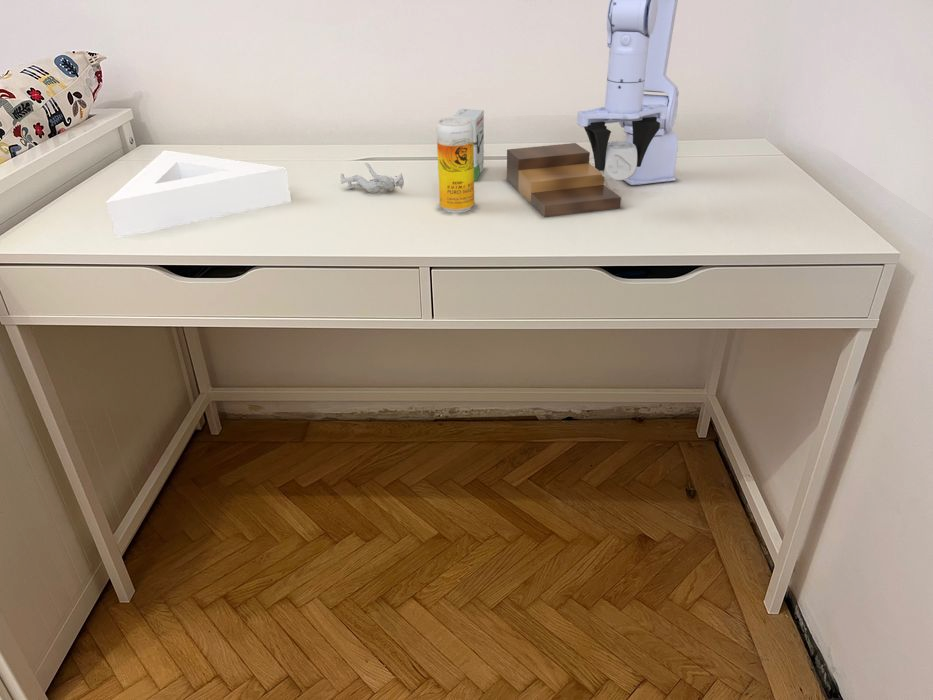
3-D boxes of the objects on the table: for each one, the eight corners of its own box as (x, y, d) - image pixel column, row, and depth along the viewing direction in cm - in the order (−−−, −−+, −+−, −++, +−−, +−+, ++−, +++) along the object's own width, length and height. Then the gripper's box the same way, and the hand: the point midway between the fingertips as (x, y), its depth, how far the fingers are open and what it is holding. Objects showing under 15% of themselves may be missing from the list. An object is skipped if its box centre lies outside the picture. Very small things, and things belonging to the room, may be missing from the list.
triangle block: (116, 239, 113) (105, 202, 110) (91, 196, 132) (80, 163, 129) (291, 202, 127) (285, 167, 124) (245, 168, 146) (240, 137, 142)
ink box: (476, 181, 135) (476, 118, 128) (452, 180, 136) (450, 118, 129) (484, 168, 142) (484, 108, 136) (461, 167, 143) (459, 107, 137)
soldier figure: (357, 188, 136) (412, 172, 131) (357, 210, 134) (412, 195, 130) (335, 168, 129) (391, 151, 125) (335, 192, 127) (392, 175, 123)
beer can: (449, 216, 119) (446, 127, 111) (434, 205, 124) (430, 119, 116) (480, 209, 121) (479, 122, 113) (464, 199, 126) (462, 114, 118)
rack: (573, 173, 138) (575, 142, 135) (620, 208, 121) (623, 174, 118) (506, 180, 135) (506, 149, 132) (544, 217, 118) (545, 182, 115)
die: (635, 180, 112) (638, 149, 109) (604, 180, 112) (606, 149, 110) (629, 170, 116) (632, 140, 114) (599, 171, 116) (601, 141, 114)
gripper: (592, 88, 101) (586, 178, 109) (681, 80, 105) (669, 169, 112) (574, 79, 107) (569, 166, 114) (658, 72, 110) (648, 157, 118)
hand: (617, 167), depth 113 cm, fingers closed on die, 6 cm apart
